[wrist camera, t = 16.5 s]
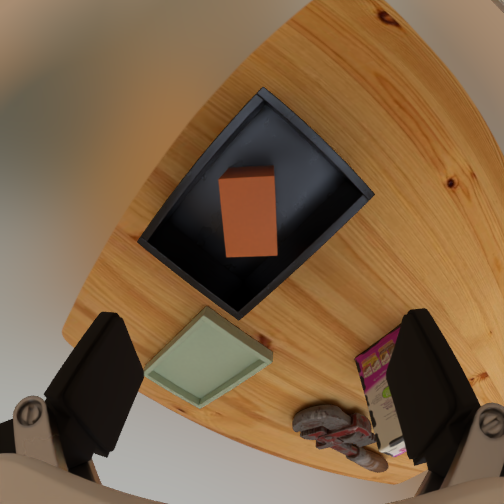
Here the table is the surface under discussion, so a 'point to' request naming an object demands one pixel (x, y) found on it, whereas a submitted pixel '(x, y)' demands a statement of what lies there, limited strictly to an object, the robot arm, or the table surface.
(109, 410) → the robot arm
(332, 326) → the table surface
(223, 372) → the shallow green tray
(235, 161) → the dark open storage bin
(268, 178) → the orange brown rectangular block
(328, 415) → the pipe wrench
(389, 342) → the candy bar box
